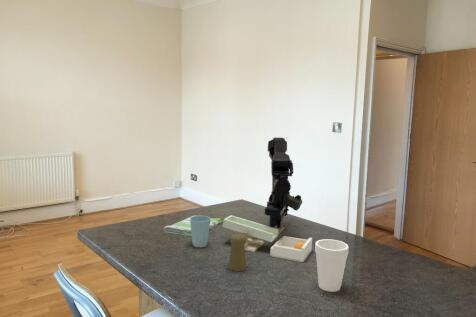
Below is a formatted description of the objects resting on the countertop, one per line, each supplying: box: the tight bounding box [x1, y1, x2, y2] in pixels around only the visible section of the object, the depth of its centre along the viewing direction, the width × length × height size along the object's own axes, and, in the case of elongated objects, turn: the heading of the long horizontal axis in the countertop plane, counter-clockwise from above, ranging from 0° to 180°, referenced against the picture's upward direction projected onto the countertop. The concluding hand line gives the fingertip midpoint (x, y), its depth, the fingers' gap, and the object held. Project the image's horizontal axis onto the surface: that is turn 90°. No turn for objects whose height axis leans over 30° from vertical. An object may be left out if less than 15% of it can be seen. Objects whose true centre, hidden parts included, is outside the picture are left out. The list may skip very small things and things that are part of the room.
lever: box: [222, 215, 285, 243], centre depth 149 cm, size 16×20×3 cm
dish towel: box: [163, 214, 223, 237], centre depth 166 cm, size 17×23×4 cm
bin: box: [269, 235, 313, 263], centre depth 138 cm, size 12×12×5 cm
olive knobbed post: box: [227, 233, 247, 272], centre depth 125 cm, size 6×6×11 cm
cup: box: [190, 215, 212, 248], centre depth 144 cm, size 8×8×10 cm
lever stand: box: [241, 232, 265, 253], centre depth 145 cm, size 11×8×7 cm
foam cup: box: [314, 238, 350, 293], centre depth 113 cm, size 10×9×13 cm
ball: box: [294, 242, 304, 250], centre depth 137 cm, size 4×4×4 cm
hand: (279, 227), depth 151 cm, fingers closed, pressing on lever
